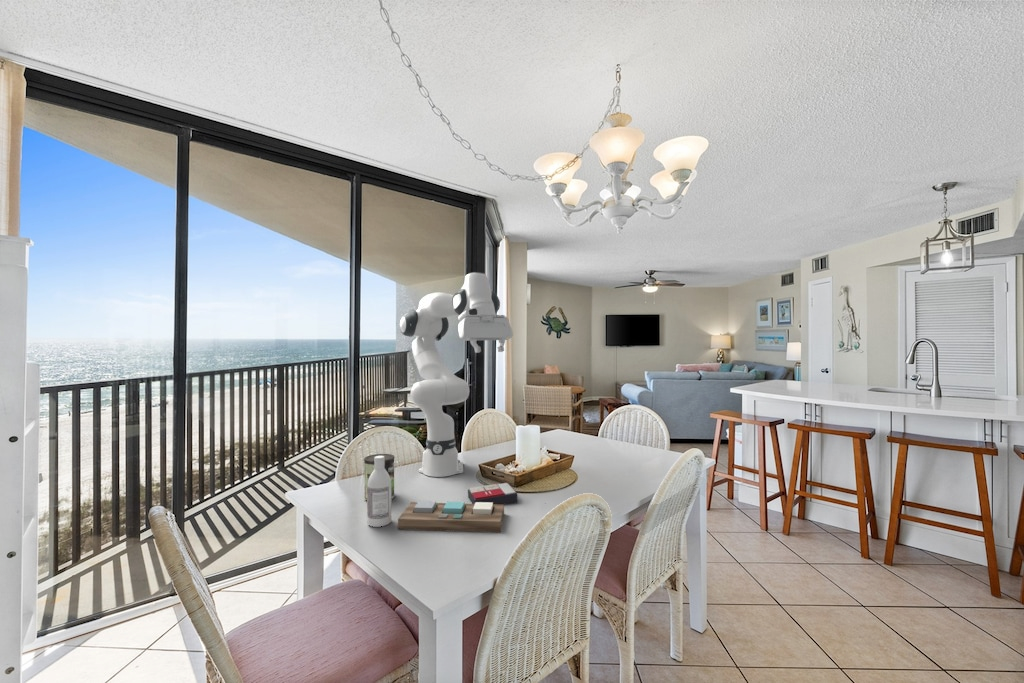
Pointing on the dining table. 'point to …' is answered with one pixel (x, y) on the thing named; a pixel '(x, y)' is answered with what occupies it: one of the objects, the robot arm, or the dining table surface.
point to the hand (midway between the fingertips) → (490, 351)
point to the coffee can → (370, 468)
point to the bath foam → (379, 495)
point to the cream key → (483, 508)
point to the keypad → (452, 519)
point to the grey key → (425, 507)
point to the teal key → (454, 508)
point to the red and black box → (493, 494)
